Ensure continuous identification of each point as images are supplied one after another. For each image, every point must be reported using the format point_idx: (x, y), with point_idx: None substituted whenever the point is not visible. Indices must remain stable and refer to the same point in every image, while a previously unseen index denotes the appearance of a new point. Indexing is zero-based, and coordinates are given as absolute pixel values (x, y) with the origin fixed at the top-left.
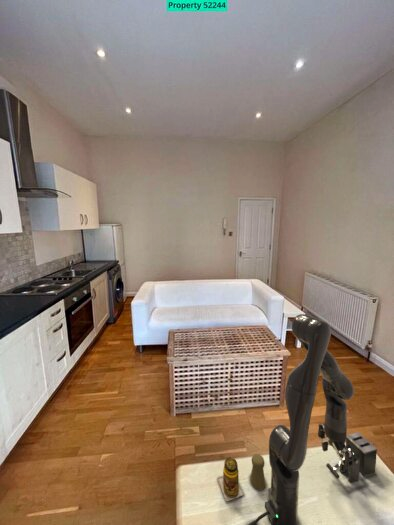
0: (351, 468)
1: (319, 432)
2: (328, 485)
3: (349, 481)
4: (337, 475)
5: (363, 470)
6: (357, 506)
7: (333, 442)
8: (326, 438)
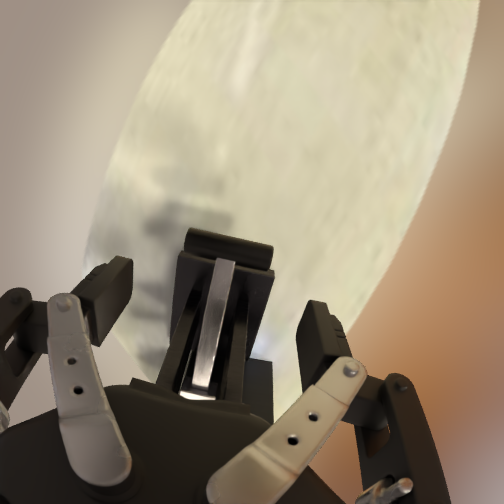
0: (170, 344)
1: (412, 425)
2: (243, 197)
3: (194, 293)
4: (186, 242)
5: (185, 374)
6: (133, 229)
7: (97, 487)
8: (290, 458)
